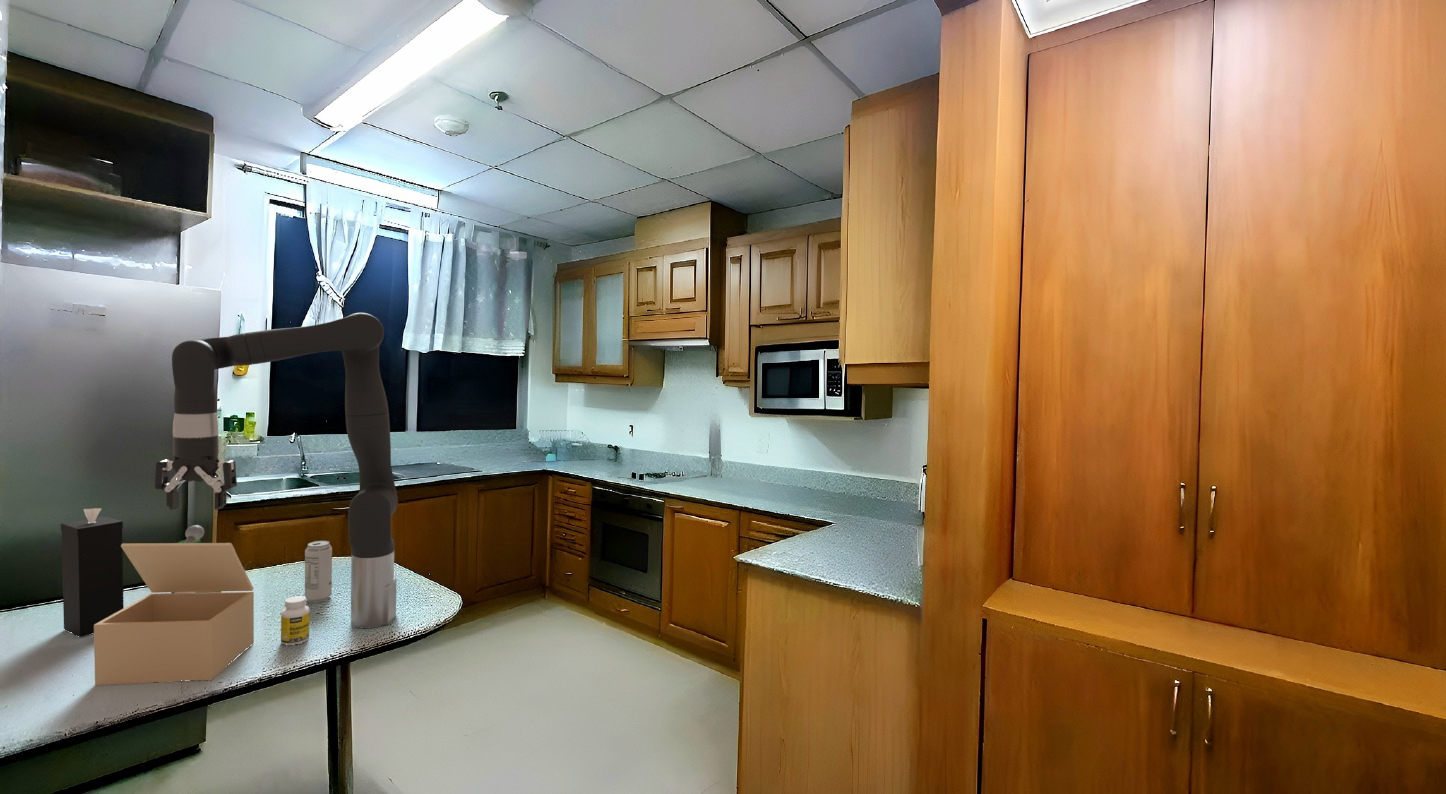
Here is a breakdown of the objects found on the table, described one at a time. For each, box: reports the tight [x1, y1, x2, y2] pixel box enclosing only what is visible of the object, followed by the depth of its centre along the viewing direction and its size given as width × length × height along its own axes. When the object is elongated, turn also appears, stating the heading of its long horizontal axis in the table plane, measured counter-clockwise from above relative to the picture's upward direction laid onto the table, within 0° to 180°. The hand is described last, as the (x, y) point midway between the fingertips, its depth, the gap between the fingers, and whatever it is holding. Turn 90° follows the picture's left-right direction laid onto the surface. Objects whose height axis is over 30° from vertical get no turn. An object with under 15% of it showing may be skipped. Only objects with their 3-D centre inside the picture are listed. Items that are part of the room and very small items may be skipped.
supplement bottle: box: [280, 595, 311, 646], centre depth 147 cm, size 5×5×10 cm
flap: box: [121, 524, 254, 594], centre depth 140 cm, size 20×16×7 cm
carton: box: [93, 591, 255, 686], centre depth 135 cm, size 20×16×12 cm
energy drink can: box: [304, 540, 333, 604], centre depth 171 cm, size 6×6×15 cm
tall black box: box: [60, 507, 125, 638], centre depth 148 cm, size 8×8×28 cm
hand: (196, 508), depth 139 cm, fingers open, 8 cm apart
